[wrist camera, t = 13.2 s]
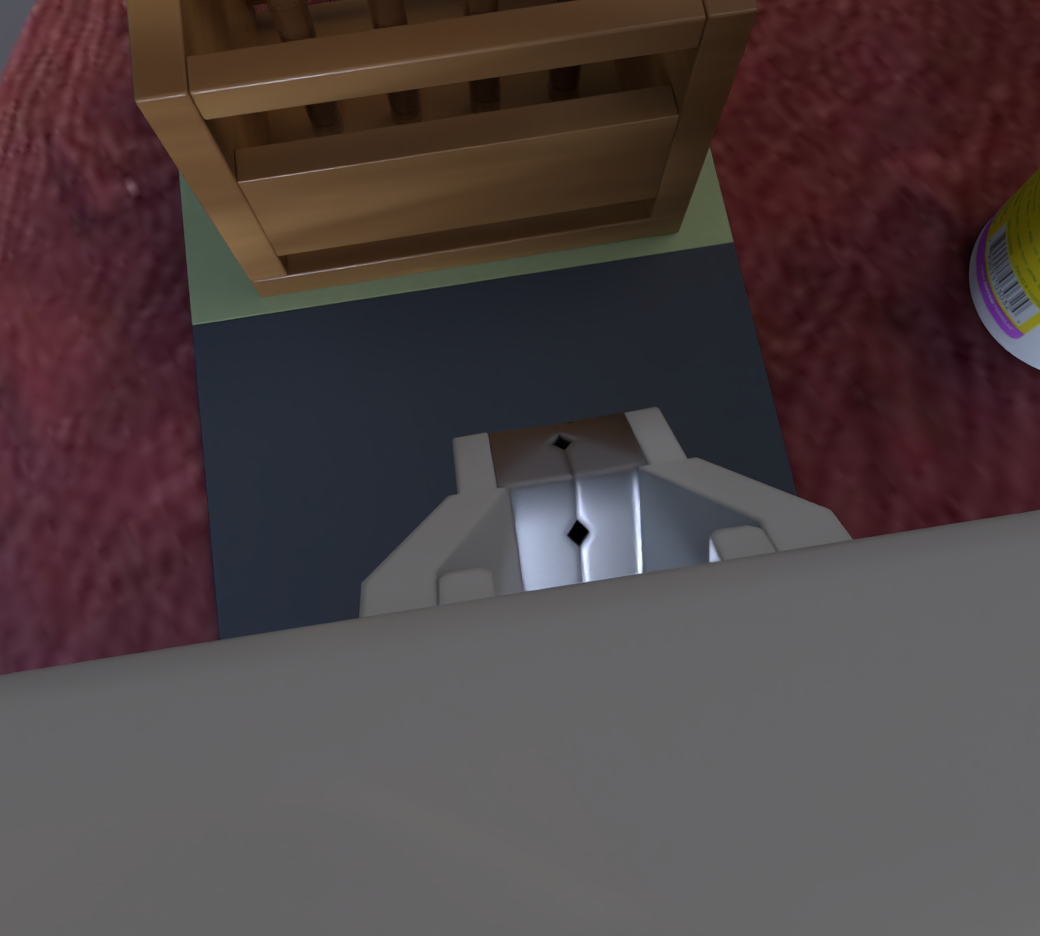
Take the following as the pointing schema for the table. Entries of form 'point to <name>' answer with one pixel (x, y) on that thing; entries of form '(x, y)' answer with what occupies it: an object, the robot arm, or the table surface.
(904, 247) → the table surface
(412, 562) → the robot arm
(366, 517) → the runner mat
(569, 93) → the rack
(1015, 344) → the supplement bottle
